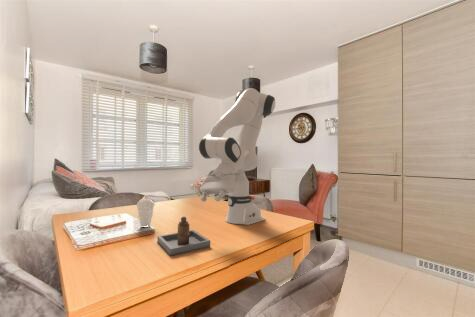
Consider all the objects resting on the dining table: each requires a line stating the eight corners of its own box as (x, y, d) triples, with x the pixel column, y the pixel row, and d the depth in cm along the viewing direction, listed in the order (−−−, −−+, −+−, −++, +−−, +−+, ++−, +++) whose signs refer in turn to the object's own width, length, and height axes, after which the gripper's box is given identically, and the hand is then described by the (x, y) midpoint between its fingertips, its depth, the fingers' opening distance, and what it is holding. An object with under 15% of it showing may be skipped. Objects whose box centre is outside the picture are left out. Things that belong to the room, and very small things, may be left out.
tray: (193, 235, 107) (193, 229, 107) (210, 246, 94) (210, 240, 94) (157, 242, 98) (157, 236, 98) (170, 256, 85) (170, 249, 85)
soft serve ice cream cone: (148, 229, 114) (148, 196, 114) (132, 228, 115) (133, 195, 115) (157, 225, 122) (157, 193, 122) (142, 223, 124) (143, 192, 123)
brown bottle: (186, 240, 100) (186, 214, 99) (191, 243, 96) (191, 217, 96) (175, 242, 97) (176, 216, 97) (180, 246, 93) (180, 218, 93)
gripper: (245, 177, 100) (231, 205, 92) (214, 181, 114) (200, 205, 106) (236, 167, 97) (221, 195, 89) (206, 172, 111) (190, 196, 104)
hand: (209, 200), depth 98 cm, fingers open, 8 cm apart
